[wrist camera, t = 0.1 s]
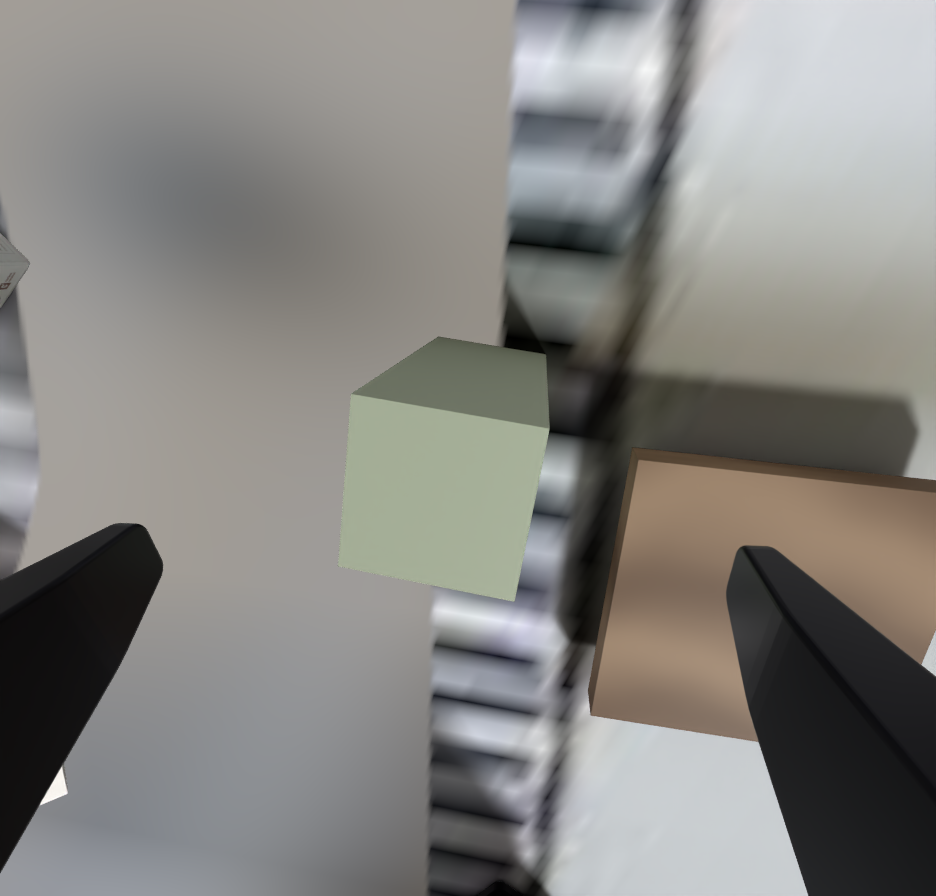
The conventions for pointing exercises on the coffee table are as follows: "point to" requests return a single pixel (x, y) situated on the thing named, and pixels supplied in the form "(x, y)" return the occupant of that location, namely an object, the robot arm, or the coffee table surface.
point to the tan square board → (709, 566)
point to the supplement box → (10, 268)
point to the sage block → (446, 467)
